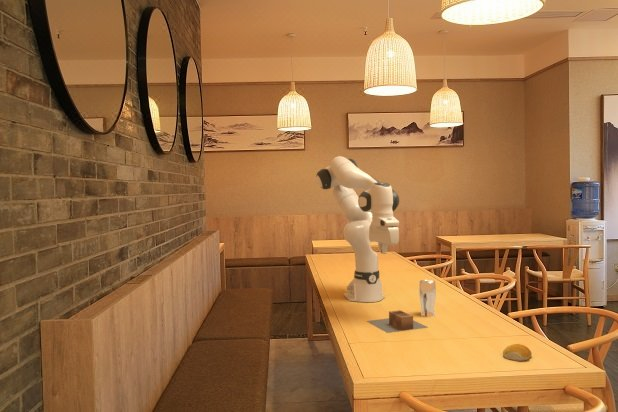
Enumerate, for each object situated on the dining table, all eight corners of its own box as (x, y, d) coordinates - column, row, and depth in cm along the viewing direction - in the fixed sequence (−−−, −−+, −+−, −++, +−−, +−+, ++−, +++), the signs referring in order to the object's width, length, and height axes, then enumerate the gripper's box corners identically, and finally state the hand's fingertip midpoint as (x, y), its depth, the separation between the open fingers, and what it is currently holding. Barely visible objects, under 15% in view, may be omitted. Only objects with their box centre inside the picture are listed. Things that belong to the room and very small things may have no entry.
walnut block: (388, 311, 205) (401, 317, 195) (399, 310, 206) (413, 316, 197) (389, 323, 205) (401, 330, 195) (400, 322, 207) (413, 328, 197)
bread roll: (533, 355, 167) (533, 343, 167) (527, 363, 160) (527, 350, 160) (507, 350, 172) (507, 339, 172) (499, 358, 165) (499, 346, 165)
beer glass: (424, 319, 213) (423, 283, 212) (416, 315, 220) (416, 280, 219) (439, 317, 215) (438, 282, 214) (431, 313, 222) (430, 279, 221)
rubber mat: (366, 322, 210) (366, 321, 210) (404, 317, 216) (404, 316, 216) (387, 334, 193) (387, 332, 193) (428, 328, 199) (428, 327, 199)
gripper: (365, 219, 225) (365, 251, 226) (387, 222, 206) (388, 256, 206) (377, 219, 227) (378, 250, 228) (401, 222, 208) (401, 255, 209)
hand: (383, 253), depth 217 cm, fingers closed
